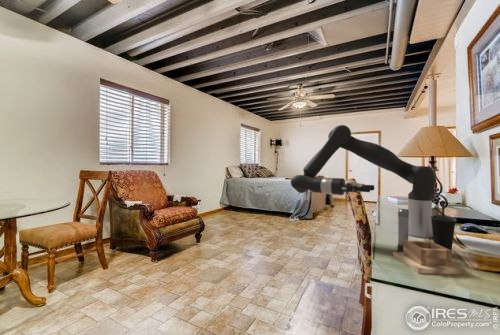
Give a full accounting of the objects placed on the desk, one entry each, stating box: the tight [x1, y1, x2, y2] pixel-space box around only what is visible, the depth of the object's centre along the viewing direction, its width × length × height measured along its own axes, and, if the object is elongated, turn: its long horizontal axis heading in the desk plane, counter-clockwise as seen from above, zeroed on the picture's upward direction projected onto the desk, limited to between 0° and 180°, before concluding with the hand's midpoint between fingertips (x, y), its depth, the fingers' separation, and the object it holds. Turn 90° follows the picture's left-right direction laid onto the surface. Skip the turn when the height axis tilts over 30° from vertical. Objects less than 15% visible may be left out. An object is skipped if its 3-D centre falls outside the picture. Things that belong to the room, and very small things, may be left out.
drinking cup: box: [430, 200, 457, 253], centre depth 89 cm, size 8×8×20 cm
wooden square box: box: [392, 240, 466, 275], centre depth 80 cm, size 14×14×6 cm
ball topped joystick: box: [397, 208, 409, 252], centre depth 91 cm, size 4×3×17 cm
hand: (372, 188), depth 97 cm, fingers open, 8 cm apart
